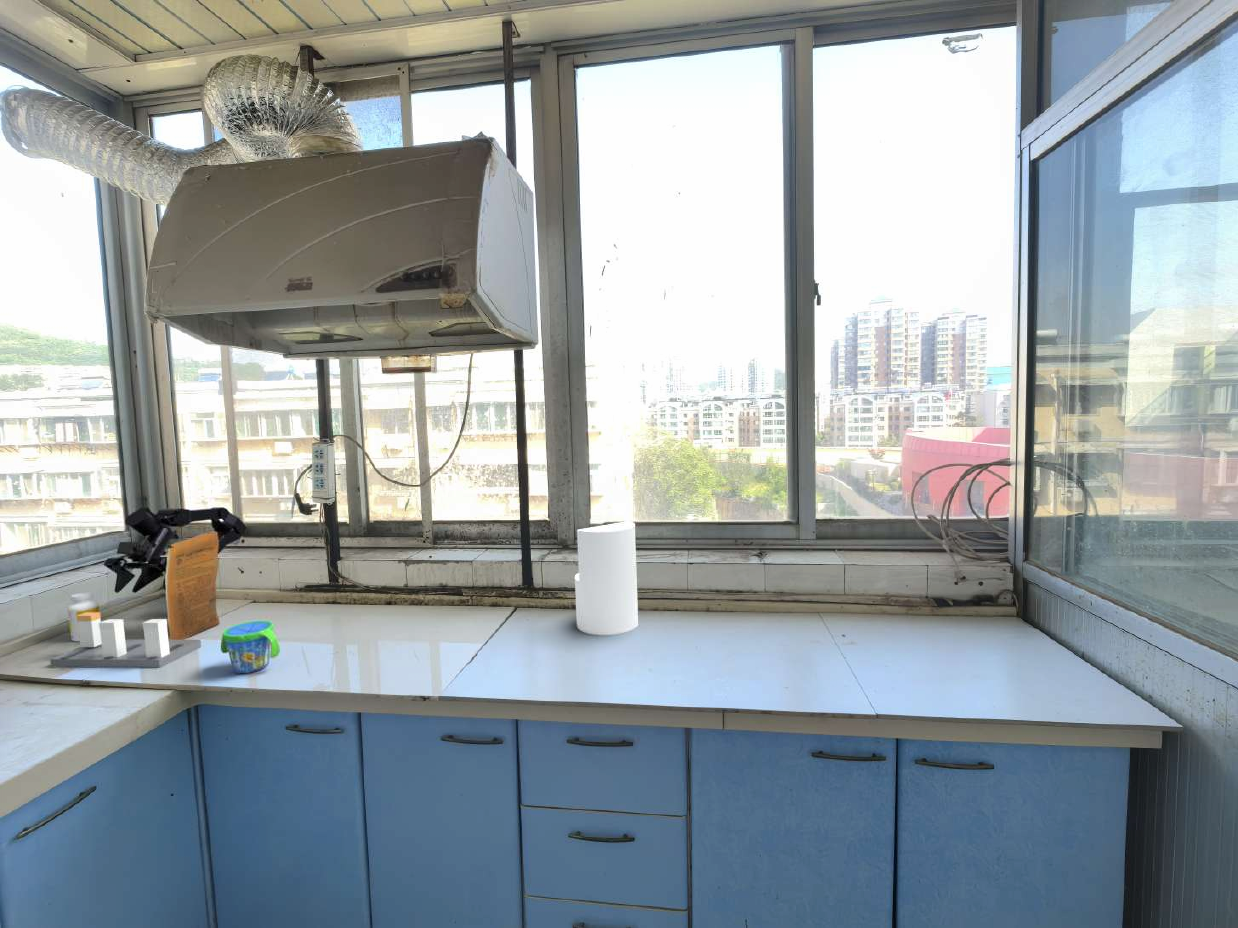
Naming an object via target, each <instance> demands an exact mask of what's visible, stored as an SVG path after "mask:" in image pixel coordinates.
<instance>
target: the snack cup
mask: <svg viewBox="0 0 1238 928" xmlns="http://www.w3.org/2000/svg"><path fill="white" fill-rule="evenodd" d="M274 627H275V624H274V623H273V622H272V621H269V620H252V621H247V622H241V623H237V624H234V625H232V626H230V627H228V628H226V629H225V630H223V632H222V636H221V642H220V651H221V653H223V654H228V657H229V660H230V663H231V666H232V670H233V672H234V673H238V674H243V673H244V674H250V673H253V672H258V671H261V670H263V669H264V668H266V667H267V666H269V663H270V659H274V658H276V657H277V656H279V654H280V651H281V648H280V645H279V640H278V638H277V636H276V634H275V632H274Z"/></svg>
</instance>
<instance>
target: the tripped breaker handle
mask: <svg viewBox="0 0 1238 928" xmlns="http://www.w3.org/2000/svg"><path fill="white" fill-rule="evenodd" d="M101 617H102V615H101V612H100V611H99V612H86V613H83V614H80V615H77V622H78V630H79V638H80V641H79V645H80V647H96V646H98V645H101V644H102V642H101V634H100V628H99V623H100V622H102V620H101Z"/></svg>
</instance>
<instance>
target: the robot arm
mask: <svg viewBox="0 0 1238 928" xmlns="http://www.w3.org/2000/svg"><path fill="white" fill-rule="evenodd" d="M209 520H210V521H211V522H210V525H211V527H212V529H213V531H215V532H217V535H218V540H219V547H218V555H219V554H220V553H221V552H222V551H223V550H224V549H225V548H226V547H227V546H228V545H229V544H232V543H234V542H236V541H238V540H239V539H241V538H242V537H243V536H244V535H245V534H246V532H247V531H246V530H247V527H246V524H245V523H244V522H243V521H242V520H241V518H240V517H238V516H237V515H235V514H233V513H232V512H230V510H228V509H227V508H225V507H223V506H222V507H221V506H218V507H215V506H214V507H210V508H202V509H201V508H199V509H187V508H162V509H161V508H160V509H159V510H158V512H157V513H154V512H152V510H151V509H150V508H148V506H141V507H139V508H138V510H135V511H134V512H131V513H130V514H129V515H127V517H126V518H125V520H124V522H125V523H124V524H125V525H126V526H128V527H129V528H130V529H131V530H132V531H134V532H135V533H136V534H138V535H139V536H142V537H145V539H139V540H138V541H135V542H134V541H119V543H118V546H117V550H116V554H117V555H120V554H121V555H126V558H127V559H128V560H131V561H128V560H127V559H126V558H124V557H121V556H119V557H117V556H115V557H108V558H106V560H105V562H104V563H103V566H104V567H105V568H107V569H109V570H110V571H111V572H113V573H115V574H116V579H115V580H116V581H115V584H114V593H116V594H117V593H118V594H119V593H120V592H121V591H123V589H124V588H126V586H127V585H128V584H129V583H130V582H132V580H133V579H134V578H135V577H136V574H134V573H132V572H133V570H134V569H137V570H141V572H140V574H139V576H138V578H137V580H136V582H135V583H134V585H133V588H132V590H131V592H132V593H137V592H139V591H141V590H142V589H143V588H145V587H147V586H148V585H150V584H151V583H153V582H155V581H156V580H158V579H159V578H161V577H164V575H166V566H167V556H166V554H168V551H165V550H166V548H167V547H168V546H169V543H170V541H171V540H175V541H176V540H179V538H180V537H179V535H178V532H177V530H173V529H171V528H182V527H185V526H189V525H190V524H191V523H194V522H201V521H203V522H204V521H209ZM162 586H163V589H164V591H165V592H166V585H165V578H163V581H162Z"/></svg>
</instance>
